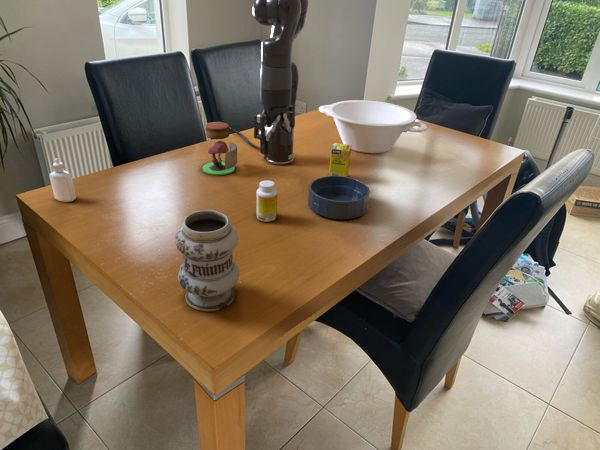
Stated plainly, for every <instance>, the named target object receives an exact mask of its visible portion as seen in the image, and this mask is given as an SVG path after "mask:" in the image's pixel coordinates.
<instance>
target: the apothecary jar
mask: <svg viewBox="0 0 600 450" xmlns="http://www.w3.org/2000/svg"><path fill="white" fill-rule="evenodd" d="M230 222H231V221H230V219H229V217H228V216H227V214H225V213H223V212H220V211H217V210H214V209H205V210H198V211H194V212H191V213H189V214H187V216H186V217H184V219H183V221H182V226H181V227H180V228H179V229H178V231H177V232H176V234H175V238H174V243H175V246H176V249H177V250H178V251H179V252H180V253H181V254H182V259H183V263H182V264H180V267H179V268H178V272H177V280H178V283H179V285H180V286H181V288H182V289H183V290H184V291H185V292H186V293H185V297H184V298H185V299H184V300H185V303H187V305H188V306H189V307H190V308H192V309H194V310H197V311H200V312H216V311H219V310H220V309H222V308H224V307H228V306H229V305H230V304H231V303H232V302H233V301H234V298H235V291H234V289H233V287H235V285H237V283H238V281H239V279H240V274H241V273H240V268H239V265H238V263H237V262H236V261H235V260H234V258H233V257H234V256H233V252H234V250H235V249H236V247H237V246H238V243H239V233H238V231H237V229H236V228H235V227H234V226H233V224H231V223H230Z"/></svg>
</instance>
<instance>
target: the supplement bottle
mask: <svg viewBox="0 0 600 450" xmlns="http://www.w3.org/2000/svg"><path fill="white" fill-rule="evenodd" d="M255 193H256V195H255V196H256V199H255V201H256V202H255V203H256V204H255V205H256V206H255V208H256V209H255V210H256V211H255V213H256V214H255V215H256V219H258V221H260V222H264V223H265V222H266V223H269V222H273V221H274V220H276V219H277V217H278V190H277V189H276V187H275V182H274V181H272V180H261V181H260V182H259V186H258V188H257V189H256V192H255Z"/></svg>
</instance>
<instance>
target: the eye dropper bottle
mask: <svg viewBox="0 0 600 450" xmlns="http://www.w3.org/2000/svg"><path fill="white" fill-rule="evenodd" d="M52 168H53V171H52V172H50V173H49V180H50V185H51V188H52V192H53V197H54V199H55V200H56V201H59V202H64V203H70V202H71V203H72V202H74V200H76V199H77V195H76V190H75V185H74V181H73V176H72V175H71V173H69V171H66V170H65V167H64V164H63V162H61V161H60V160H59V158H57V157H56V158H55V159H54V162H53V163H52Z"/></svg>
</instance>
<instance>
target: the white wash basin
mask: <svg viewBox="0 0 600 450" xmlns="http://www.w3.org/2000/svg"><path fill="white" fill-rule="evenodd" d="M318 111H319V112H320V113H321V114H325V115H326V117H332V118H333V120H334V123H335V125H336V129H337V131H338V133H339V136H340V139H341V141H342V144H347V145H352V146H351V151H354V152H357V153H363V154H382V153H386V152H388V151H390V150H392V148H393V146H395V143H396V142H397V140H398V139H399V138H400V136H401V135H402V134H403V133H405V134H406V133H408V132H409V133H423V132H426V131H427V130H428V126H427V124H426V123H423V122H420V121H417V118H418V117H417V114H416V113H415V112H414V111H413V110H410V109H409V108H407V107H404V106H401V105H398V104H394V103H390V102H384V101H377V100H364V99H352V100H341V101H336V102H334V103H331V104H325V105H321V106H319V107H318Z"/></svg>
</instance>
